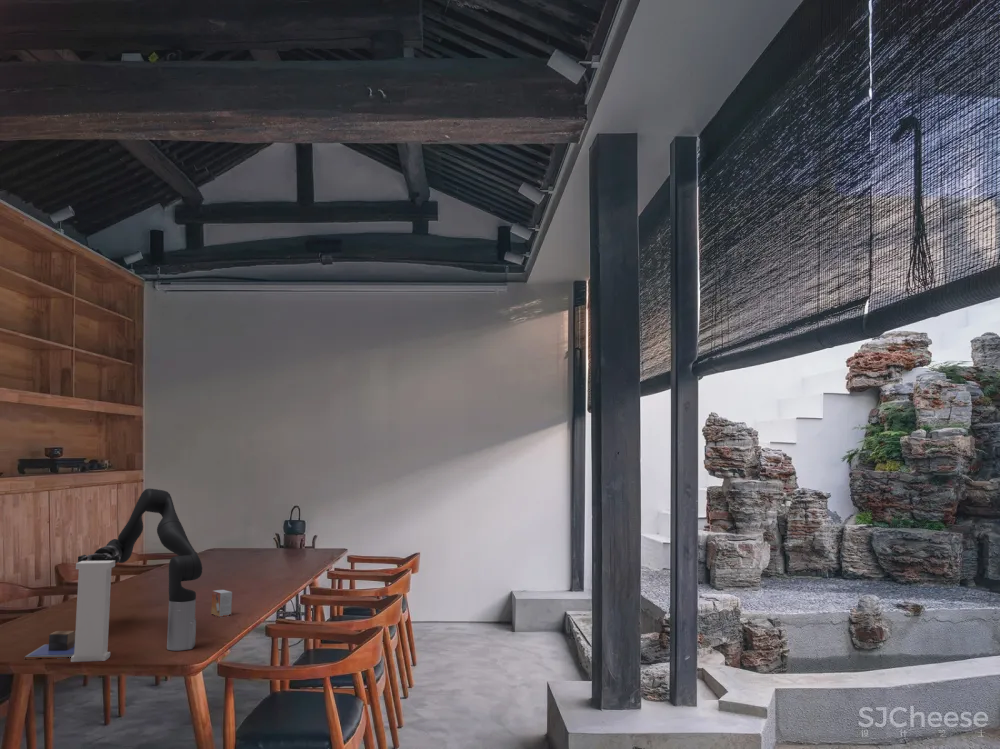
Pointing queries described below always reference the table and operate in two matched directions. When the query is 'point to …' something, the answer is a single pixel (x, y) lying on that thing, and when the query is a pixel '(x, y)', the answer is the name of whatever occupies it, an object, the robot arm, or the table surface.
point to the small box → (221, 602)
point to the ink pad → (51, 652)
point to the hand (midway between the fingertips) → (93, 561)
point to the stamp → (61, 640)
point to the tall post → (92, 611)
